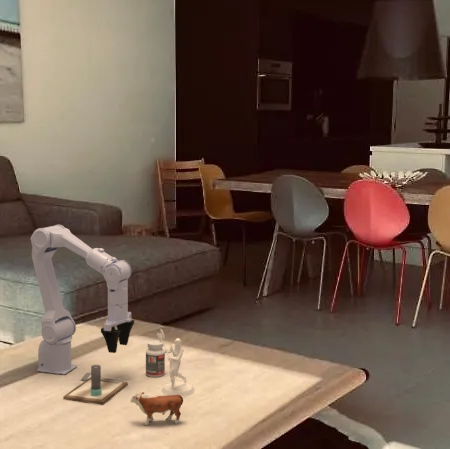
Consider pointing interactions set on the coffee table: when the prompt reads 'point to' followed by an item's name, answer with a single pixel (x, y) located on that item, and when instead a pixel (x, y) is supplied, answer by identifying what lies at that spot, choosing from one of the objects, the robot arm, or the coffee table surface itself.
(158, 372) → the pill bottle
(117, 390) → the brown picture frame
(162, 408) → the bull figurine
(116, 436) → the coffee table surface
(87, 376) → the grey slotted plate
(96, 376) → the marker
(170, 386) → the figurine
